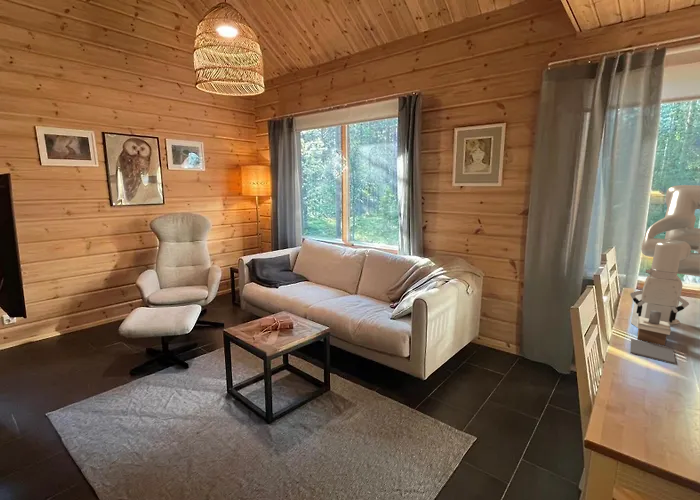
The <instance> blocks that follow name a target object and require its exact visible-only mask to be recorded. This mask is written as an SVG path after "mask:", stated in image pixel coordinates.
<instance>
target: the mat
mask: <svg viewBox="0 0 700 500" xmlns="http://www.w3.org/2000/svg"><path fill="white" fill-rule="evenodd" d="M629 350H630V351H629V352H630V354H631V353H632V355H636V354H637V355H636V356H640V355H641V356H640V357H644V356H645V358H648V357H649V359H652V358H653V359H652V360H656V359H658V360H657V361H660V360H663V361H662V362H664V361H666V362H665V363H668V362H669V364H672V365H676V358H675V353H674V348H673V347H669V346H666V345H665V346H663V345H659V344H654V343H650V342H645V341H641V340H638V339H634V338H631V339H630V349H629Z"/></svg>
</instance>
